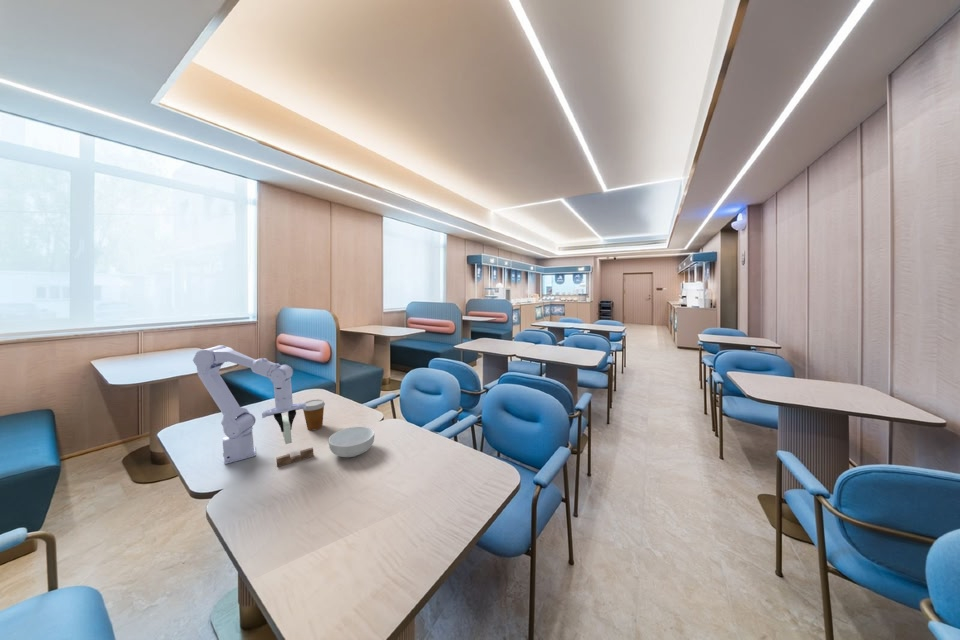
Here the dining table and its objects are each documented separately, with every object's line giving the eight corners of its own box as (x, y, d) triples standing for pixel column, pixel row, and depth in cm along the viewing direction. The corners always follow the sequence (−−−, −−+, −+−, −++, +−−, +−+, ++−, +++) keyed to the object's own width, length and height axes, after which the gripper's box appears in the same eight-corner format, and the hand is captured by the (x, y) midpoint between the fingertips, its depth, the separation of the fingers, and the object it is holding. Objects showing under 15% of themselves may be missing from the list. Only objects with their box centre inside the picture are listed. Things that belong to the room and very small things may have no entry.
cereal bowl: (359, 466, 115) (358, 448, 114) (319, 461, 118) (318, 443, 117) (382, 443, 131) (382, 427, 131) (347, 440, 135) (346, 424, 134)
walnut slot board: (277, 467, 115) (276, 459, 115) (276, 465, 116) (276, 457, 116) (313, 456, 122) (313, 448, 122) (313, 454, 123) (312, 447, 123)
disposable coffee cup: (319, 432, 142) (318, 406, 141) (298, 432, 142) (297, 406, 141) (330, 422, 152) (328, 399, 150) (310, 422, 152) (308, 399, 151)
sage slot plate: (291, 442, 120) (290, 425, 119) (285, 444, 118) (284, 426, 118) (288, 431, 129) (286, 415, 128) (282, 432, 128) (280, 416, 127)
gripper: (261, 404, 115) (264, 439, 116) (306, 395, 123) (308, 428, 125) (260, 398, 120) (263, 432, 122) (303, 390, 129) (305, 422, 130)
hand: (286, 430), depth 124 cm, fingers closed on sage slot plate, 2 cm apart
